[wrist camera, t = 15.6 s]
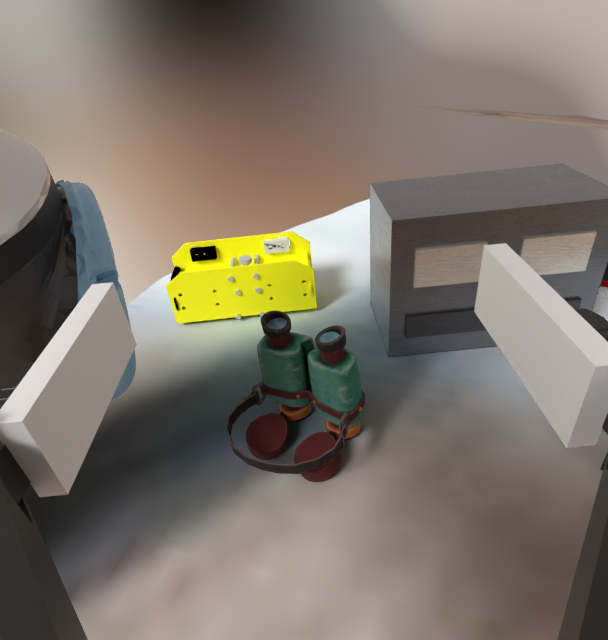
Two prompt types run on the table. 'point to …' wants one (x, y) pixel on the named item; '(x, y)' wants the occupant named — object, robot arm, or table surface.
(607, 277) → the cell phone
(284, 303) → the yellow toy chassis
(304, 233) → the table surface
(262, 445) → the binoculars
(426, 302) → the box
